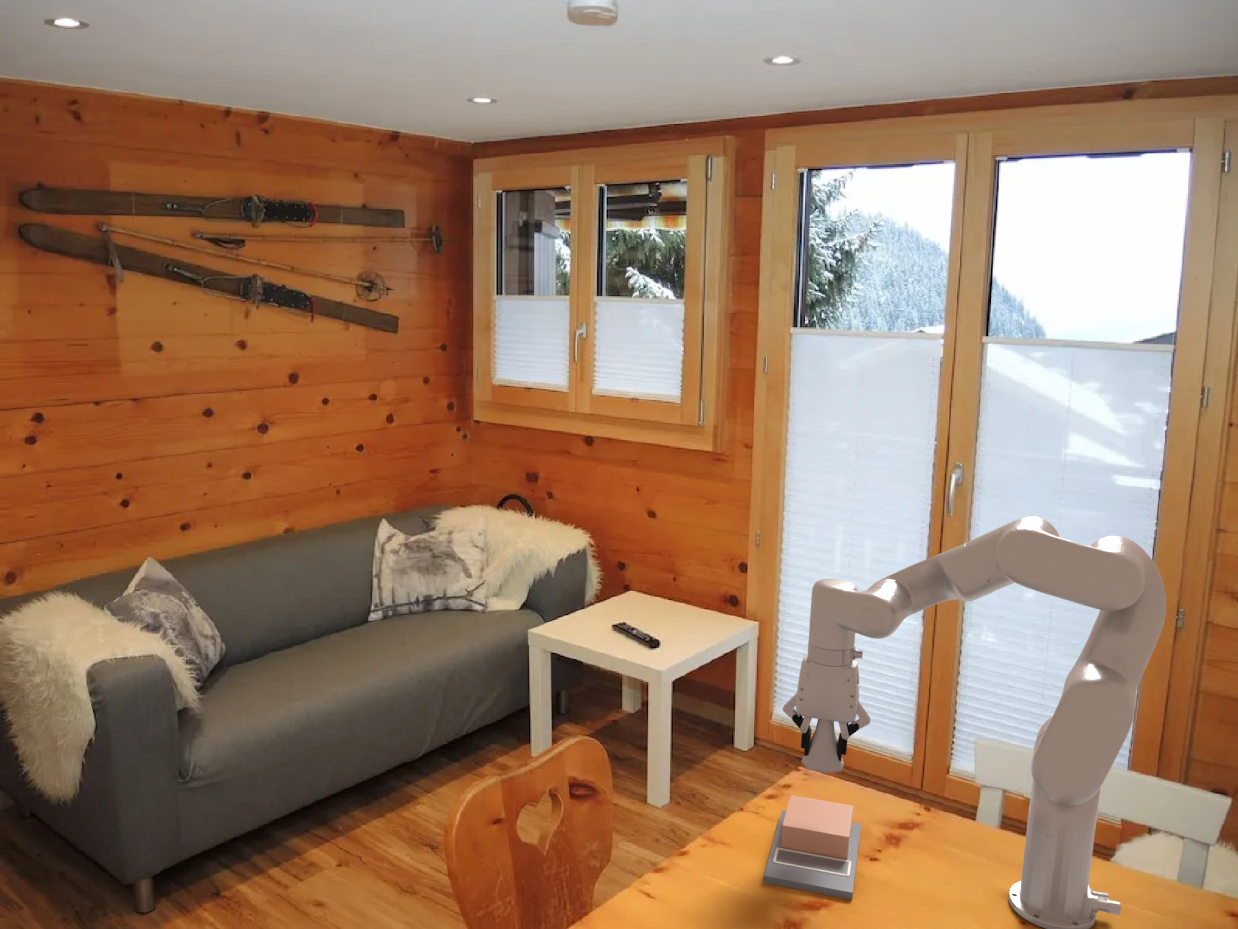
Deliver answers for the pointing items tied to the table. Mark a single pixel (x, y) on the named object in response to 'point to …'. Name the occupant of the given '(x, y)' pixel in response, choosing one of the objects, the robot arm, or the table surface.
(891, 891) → the table surface
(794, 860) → the build base
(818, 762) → the flask
